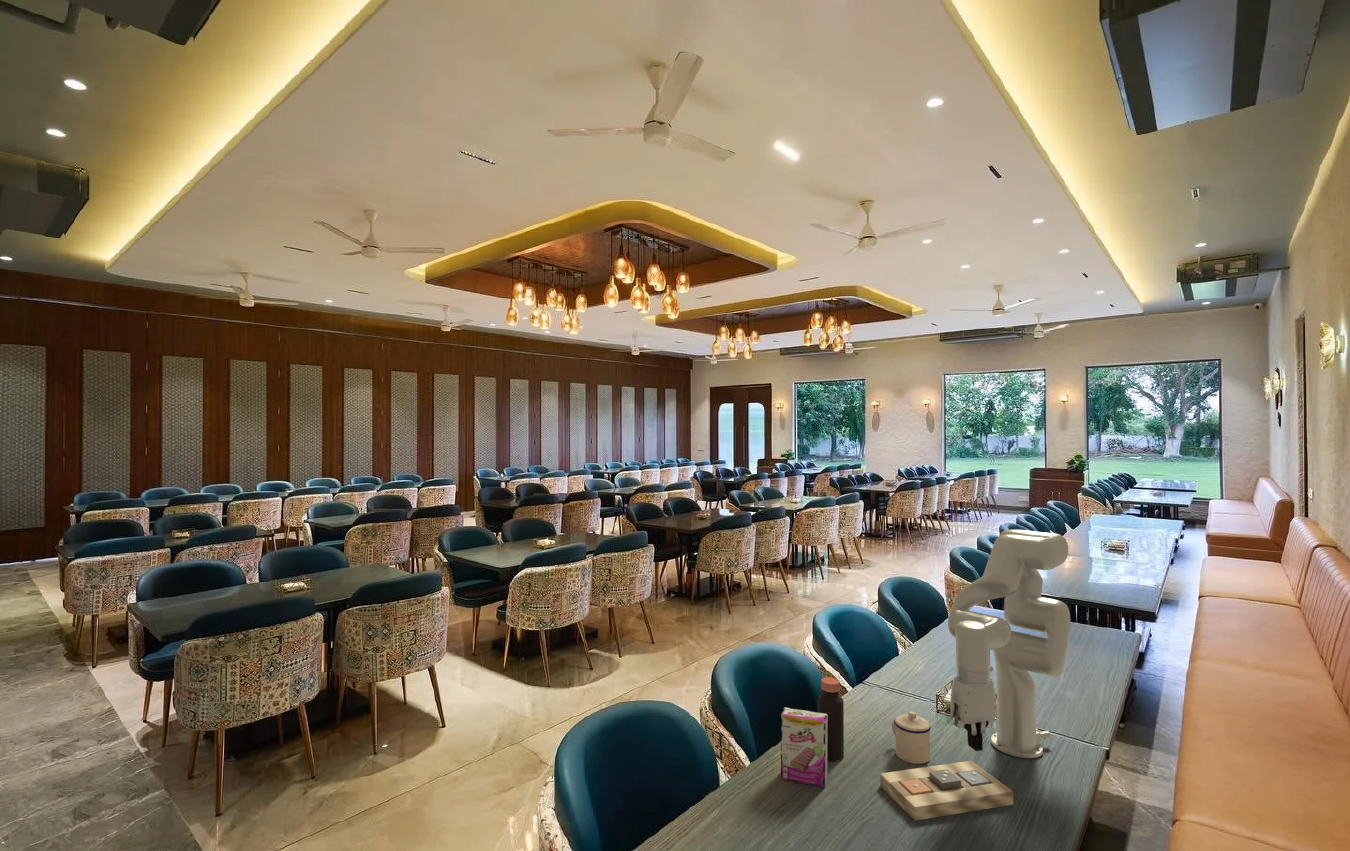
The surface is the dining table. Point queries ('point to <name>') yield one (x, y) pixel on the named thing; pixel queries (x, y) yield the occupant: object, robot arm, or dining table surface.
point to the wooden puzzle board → (945, 792)
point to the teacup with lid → (912, 738)
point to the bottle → (833, 717)
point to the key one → (915, 787)
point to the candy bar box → (804, 746)
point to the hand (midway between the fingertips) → (975, 747)
